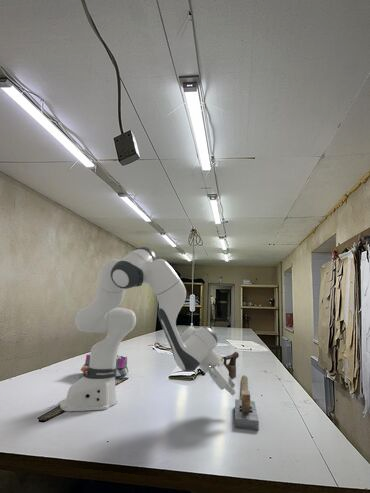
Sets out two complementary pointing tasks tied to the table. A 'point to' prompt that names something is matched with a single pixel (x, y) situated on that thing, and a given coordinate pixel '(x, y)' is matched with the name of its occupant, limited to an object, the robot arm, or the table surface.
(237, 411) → the grey slotted block
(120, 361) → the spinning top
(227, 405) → the table surface
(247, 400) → the clip
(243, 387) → the roll
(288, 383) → the table surface
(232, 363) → the wooden tool caddy
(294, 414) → the table surface
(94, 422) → the table surface
